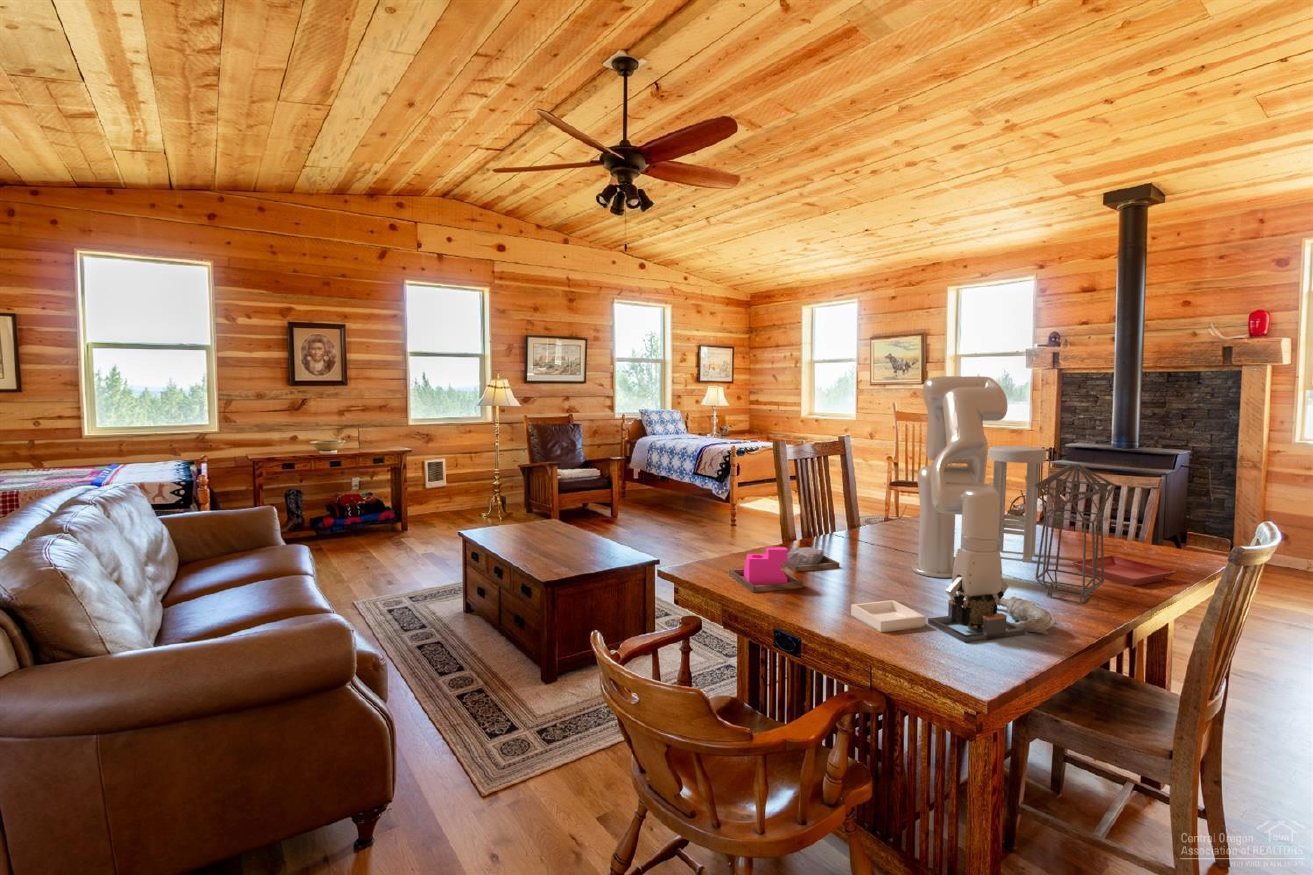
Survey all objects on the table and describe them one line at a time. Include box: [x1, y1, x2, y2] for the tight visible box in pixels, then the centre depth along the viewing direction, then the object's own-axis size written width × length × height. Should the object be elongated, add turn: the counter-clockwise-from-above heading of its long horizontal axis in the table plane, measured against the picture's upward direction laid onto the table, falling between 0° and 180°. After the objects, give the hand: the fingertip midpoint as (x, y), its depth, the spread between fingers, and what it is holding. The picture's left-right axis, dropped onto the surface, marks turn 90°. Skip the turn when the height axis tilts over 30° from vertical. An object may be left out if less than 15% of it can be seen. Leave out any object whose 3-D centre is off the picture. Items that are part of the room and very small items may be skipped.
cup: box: [961, 595, 996, 632], centre depth 145 cm, size 8×7×8 cm
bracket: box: [743, 546, 789, 586], centre depth 181 cm, size 12×10×10 cm
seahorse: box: [998, 596, 1057, 635], centre depth 151 cm, size 5×12×20 cm
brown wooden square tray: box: [728, 568, 804, 593], centre depth 181 cm, size 15×17×2 cm
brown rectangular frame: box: [781, 550, 840, 572], centre depth 200 cm, size 15×17×2 cm
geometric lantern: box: [1034, 463, 1116, 604], centre depth 166 cm, size 16×16×35 cm
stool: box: [988, 445, 1047, 564], centre depth 206 cm, size 16×16×35 cm
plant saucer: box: [1071, 555, 1176, 587], centre depth 186 cm, size 18×18×3 cm
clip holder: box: [927, 599, 1027, 644], centre depth 145 cm, size 16×12×5 cm
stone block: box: [787, 546, 825, 566], centre depth 200 cm, size 12×5×10 cm
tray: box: [850, 599, 926, 633], centre depth 150 cm, size 12×12×2 cm
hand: (976, 621), depth 145 cm, fingers closed on cup, 6 cm apart
